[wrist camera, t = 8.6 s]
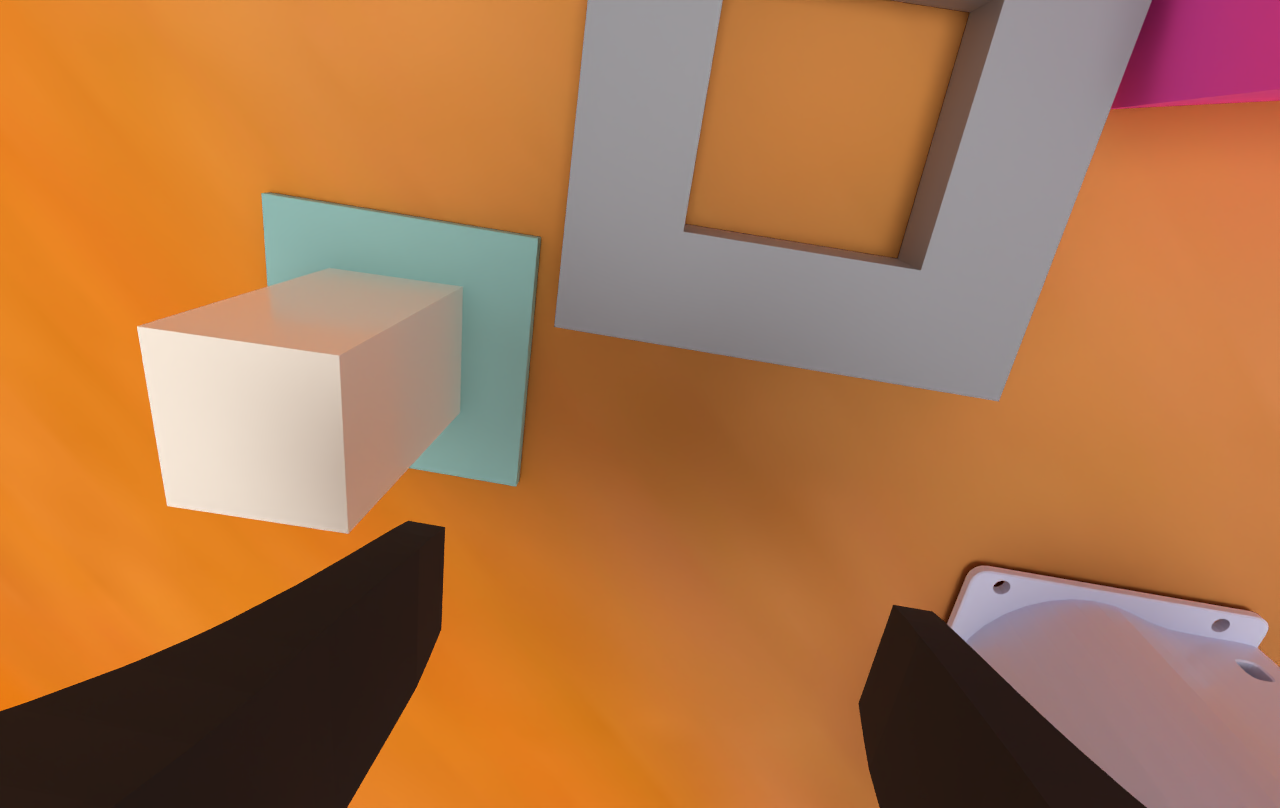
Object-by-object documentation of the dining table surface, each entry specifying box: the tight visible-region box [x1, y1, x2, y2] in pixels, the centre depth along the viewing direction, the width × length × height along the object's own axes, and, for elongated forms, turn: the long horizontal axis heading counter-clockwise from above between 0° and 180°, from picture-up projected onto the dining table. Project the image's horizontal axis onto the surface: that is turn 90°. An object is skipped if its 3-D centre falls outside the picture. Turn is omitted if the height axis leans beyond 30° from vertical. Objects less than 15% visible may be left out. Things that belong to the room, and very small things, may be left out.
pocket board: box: [554, 0, 1152, 401], centre depth 16 cm, size 12×12×2 cm
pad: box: [262, 193, 541, 486], centre depth 20 cm, size 8×8×1 cm
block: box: [137, 268, 463, 534], centre depth 16 cm, size 4×4×7 cm
